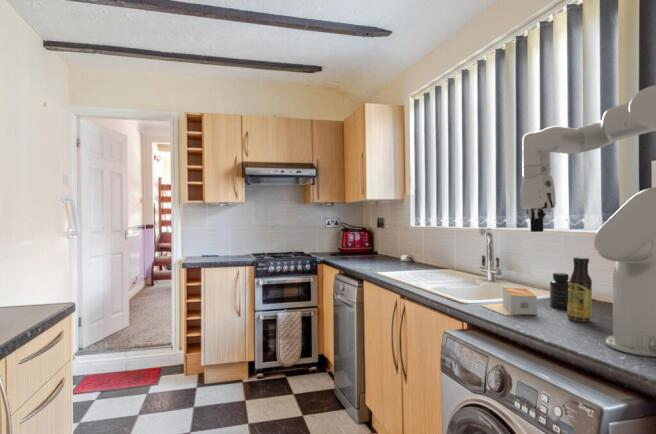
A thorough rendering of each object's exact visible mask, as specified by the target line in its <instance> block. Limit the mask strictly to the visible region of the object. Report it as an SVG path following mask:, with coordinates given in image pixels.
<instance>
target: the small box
mask: <svg viewBox="0 0 656 434" xmlns="http://www.w3.org/2000/svg"><path fill="white" fill-rule="evenodd" d="M537 298H538V296H537V295H535V294H534V293H533V292H531V291H530V290H528V289H527V288H514V287H503V288H502V304H503V305H504V306H505V307H506V308H507V310H508V311H509V312H510V313H511V314H525V315H528V316H529V315H531V316H537V315H538V308H537V307H538V302H537Z"/></svg>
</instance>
